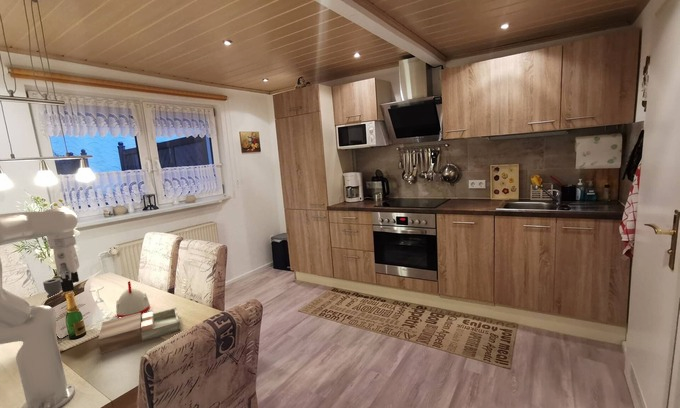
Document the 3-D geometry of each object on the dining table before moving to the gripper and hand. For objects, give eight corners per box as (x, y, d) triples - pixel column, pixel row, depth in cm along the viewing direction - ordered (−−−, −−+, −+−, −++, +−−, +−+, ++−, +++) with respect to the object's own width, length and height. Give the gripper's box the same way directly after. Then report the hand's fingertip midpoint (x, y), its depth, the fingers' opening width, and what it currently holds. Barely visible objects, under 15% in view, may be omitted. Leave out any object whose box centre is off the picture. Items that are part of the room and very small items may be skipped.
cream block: (143, 329, 141) (154, 326, 143) (142, 318, 140) (152, 315, 142) (144, 324, 145) (154, 321, 147) (142, 313, 144) (152, 311, 146)
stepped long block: (180, 330, 140) (178, 317, 139) (100, 353, 126) (97, 339, 125) (177, 315, 153) (175, 303, 152) (105, 335, 139) (102, 322, 138)
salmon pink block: (142, 338, 133) (154, 335, 135) (141, 327, 133) (152, 324, 135) (143, 332, 138) (153, 329, 140) (141, 321, 137) (152, 319, 139)
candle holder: (50, 340, 138) (38, 284, 134) (59, 332, 144) (47, 279, 140) (68, 337, 139) (56, 282, 135) (75, 329, 145) (64, 277, 141)
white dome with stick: (149, 302, 170) (144, 275, 167) (150, 312, 158) (146, 283, 156) (117, 310, 162) (112, 282, 160) (116, 321, 151) (111, 291, 149)
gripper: (70, 245, 112) (80, 291, 115) (79, 235, 127) (87, 277, 129) (42, 249, 108) (52, 297, 111) (54, 239, 123) (63, 281, 126)
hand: (71, 286), depth 120 cm, fingers open, 9 cm apart
